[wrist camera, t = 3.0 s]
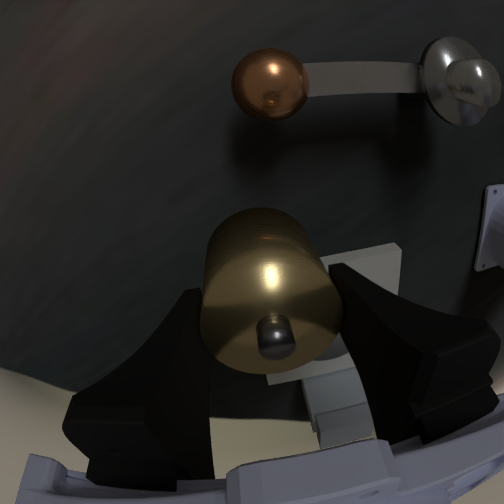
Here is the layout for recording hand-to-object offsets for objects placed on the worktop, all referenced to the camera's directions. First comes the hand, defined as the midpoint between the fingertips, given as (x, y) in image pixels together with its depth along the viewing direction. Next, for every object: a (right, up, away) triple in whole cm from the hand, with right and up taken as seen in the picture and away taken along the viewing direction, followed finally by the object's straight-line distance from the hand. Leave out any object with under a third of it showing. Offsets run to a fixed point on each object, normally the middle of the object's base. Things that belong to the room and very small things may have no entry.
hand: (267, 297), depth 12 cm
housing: (0, +2, +3) cm, 3 cm away
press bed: (+5, -5, +12) cm, 14 cm away
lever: (+3, +11, +2) cm, 12 cm away
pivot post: (+10, +13, +4) cm, 17 cm away
